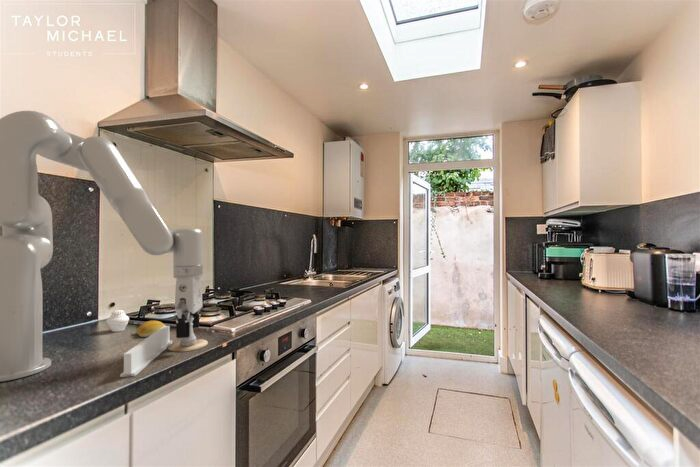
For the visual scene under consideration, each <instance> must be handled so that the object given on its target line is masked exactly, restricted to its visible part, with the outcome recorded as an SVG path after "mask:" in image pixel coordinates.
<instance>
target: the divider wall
mask: <svg viewBox="0 0 700 467" xmlns="http://www.w3.org/2000/svg"><path fill="white" fill-rule="evenodd" d="M170 328H171V326H170V325H166V326H163V327H162V328H160V329H159V330H158V331H156V332H155V333H153V334H152V335H150V336H149V337H145V339H143V340H142V341H140V342H139V343H137V344H136V345H135V346H133V347H132V348H130V349H129V350H127V351H126V352H124V353H123V371H122V372H121V373H120V374H119V378H128V377H136V376H137V375H138V374H140V372H142V370H144V369H145V368H146V367H147V366H149V364H151V363H152V362H153V361H154V360H155V359H156V358H157V357H158V356H159V355H160V354H161V353H163V352H164V351H165V350H166V349H167V348H168V347H169V346H170V345H171V344H173V340H171V339H170V338H171V336H170V331H171V330H170Z"/></svg>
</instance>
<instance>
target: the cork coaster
mask: <svg viewBox="0 0 700 467" xmlns="http://www.w3.org/2000/svg"><path fill="white" fill-rule="evenodd" d="M196 341H197V342H196V344H194V345H192V346H187V347H183V346H181V345H180V340H179V341H176V342H172V344H170V345H169V346H168V347H167V348H168V351H170V352H173V353H175V352H176V353H179V352H180V353H181V352H182V353H183V352H192V351H196V350H201V349H203V348H205V347H206V346H208V343H209V342H208V340H206V339H201V338H196Z"/></svg>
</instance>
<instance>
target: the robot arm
mask: <svg viewBox="0 0 700 467" xmlns="http://www.w3.org/2000/svg"><path fill="white" fill-rule="evenodd" d="M38 155H39V156H40V157H42V158H44V159H47V160H51V161H53V162H56V163H60V164H63V165H65V166H69V167H72V168H76V169H78V170H81V171H85V172H87V173H88V174H89V175H90V177H91V179H93V181H94V182H95V184H96V185H97V187H98V188H99V189H100V191H101V192H102V194H103V196H104V197H105V198H106V200H107V202H108V204H109V205H110V206H111V207H112V209H113V210H115V212H116V213H117V214H118V216H119V217H120V218H121V220H122V221H123V223H124V224H125V226H126V227H127V229H128V231H129V232H130V233H131V235H132V236H133V238H134V239H135V240H136V242H137V243H138V245H139V246H140V248H141V249H142V250H143V252H145V253H146V254H148V255H152V256H162V255H165V254H169V253H170V254H171V253H172V254H173V256H172V257H173V260H172V262H173V263H172V264H173V266H172V267H173V269H172V270H173V274H172V276H173V277H172V278H174V279H175V280H176V281H175V295H174V296H175V297H174V310H175V313H176V316H175V318H176V319H175V326H176V327H175V328H176V330H175V331H176V335H175V337H176V338H177V339H180V338H186V337H189V336H190V322H188V320H189V315H190V316H191V315H192V316H193V318H194V320H193V321H192V323H193V325H192V326H193V329H198V328H199V327H200V310H201V309H202V308H203V289H202V288H203V285H202V277H203V275H204V273H203V272H204V270H203V269H204V268H203V267H204V266H203V260H204V259H203V257H204V255H203V254H204V250H203V249H204V248H203V247H204V243H203V241H204V240H203V238H204V237H203V231H202V230H201V229H200V228H197V227H196V228H195V227H183V228H182V227H179V228H175V229H171V228H168V227H167V225H166V223H165V222H164V220H163V219H162V218H161V216H160V214H159V213H158V212H157V209H155V207H154V205H153V204H152V202H151V200H150V199H149V197H148V194H147V193H146V191H145V189H144V187H143V186H142V185H141V183H140V181H139V180H138V179H137V177H136V175H135V174H134V172H133V170H132V169H131V167H130V166H129V165H128V163H127V162H126V160H125V158H124V157H123V156H122V154H121V153H120V151H119V150H118V148H117V147H116V145H115V144H114V143H113V142H112V141H110V140H109V139H107V138H105V137H104V136H89V137H85V138H84V137H81V136H79V135H76V134H73V133H71V132H67V131H66V130H64V128H62V127H61V125H60V124H59V123H58V122H57V121H55V119H54V118H52V117H50V116H49V115H47V114H45V113H42V112H39V111H36V110H19V111H16V112H12V113H9V114H6V115H4V116H2V117H1V118H0V226H1V230H2V235H0V383H1V382H7V381H13V380H16V379H17V380H18V379H22V378H26V377H28V376H32V375H34V374H35V375H36V374H38V373H40V372H43V371H44V370H47V369H48V368H49V367H51V366H52V359H51V358H49V357H43V325H44V324H43V323H44V322H43V317H44V316H43V313H44V312H43V310H44V309H43V306H44V305H43V301H44V300H43V281H42V280H43V279H42V272H41V269H43V268H44V267H46V266H48V264H49V263H50V262H51V260H52V257H53V254H54V253H53V252H54V240H53V239H54V235H53V234H54V233H53V213H52V209H51V206H50V204H49V202H48V201H47V200H46V199H45V198H44V197H43V196H41V195H40V194H39V186H38V185H39V182H38V177H39V176H38V175H39V173H38V164H37V156H38ZM185 315H186V318H185Z"/></svg>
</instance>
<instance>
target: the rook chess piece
mask: <svg viewBox="0 0 700 467" xmlns="http://www.w3.org/2000/svg"><path fill="white" fill-rule="evenodd" d="M185 318H186V315H185ZM193 320H194V318H193V316H192V315H191V316H190V315H189V320H188V322H190V336H189V337H186V338H179V341H180V345H181V346H183V347H187V346H192V345H194V344H196V342H197V341H196V339H197V336H196V335H195V333H194V328H193V326H192V325H193V323H192V321H193Z"/></svg>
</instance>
